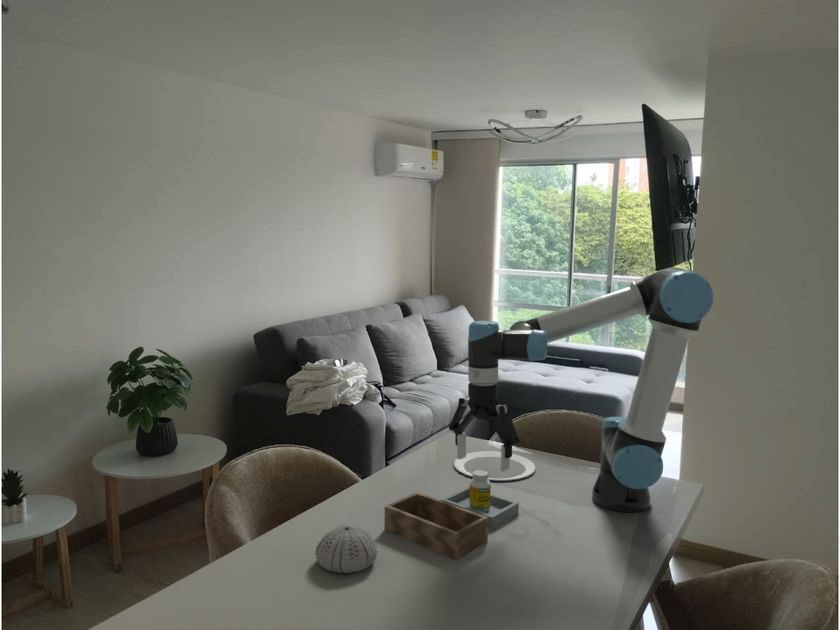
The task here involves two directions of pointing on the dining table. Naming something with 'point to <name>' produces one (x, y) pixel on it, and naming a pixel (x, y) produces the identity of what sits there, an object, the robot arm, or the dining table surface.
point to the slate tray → (496, 514)
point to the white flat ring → (527, 463)
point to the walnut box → (436, 525)
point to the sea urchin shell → (346, 550)
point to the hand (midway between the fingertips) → (482, 463)
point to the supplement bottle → (480, 491)
